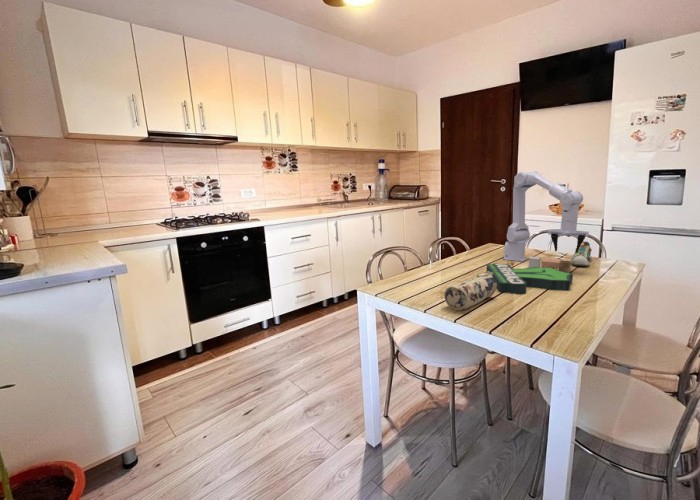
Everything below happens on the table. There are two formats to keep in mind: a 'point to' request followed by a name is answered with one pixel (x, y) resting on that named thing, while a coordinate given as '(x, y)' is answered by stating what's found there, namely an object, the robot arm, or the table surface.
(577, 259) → the sneaker
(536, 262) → the light grey block
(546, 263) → the terracotta tile
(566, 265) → the walnut block
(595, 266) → the table surface
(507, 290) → the emblem
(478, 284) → the pencil case
